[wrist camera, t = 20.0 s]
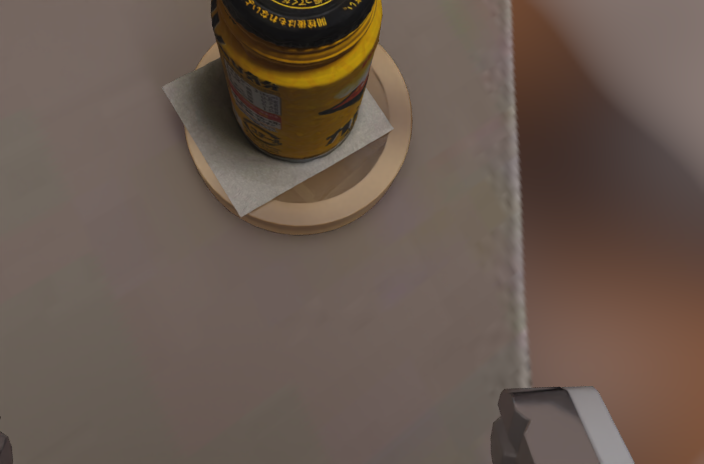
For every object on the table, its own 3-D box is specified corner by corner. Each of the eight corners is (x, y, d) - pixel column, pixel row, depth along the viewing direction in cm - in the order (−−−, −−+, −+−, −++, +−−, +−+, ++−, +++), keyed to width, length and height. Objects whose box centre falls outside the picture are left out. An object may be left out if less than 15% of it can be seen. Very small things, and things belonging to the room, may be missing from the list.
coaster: (404, 239, 33) (411, 231, 31) (182, 230, 32) (174, 221, 30) (406, 37, 35) (413, 17, 33) (198, 24, 34) (191, 2, 32)
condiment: (393, 130, 32) (451, -3, 20) (241, 218, 30) (207, 131, 19) (314, 9, 33) (326, -186, 21) (162, 89, 31) (83, -71, 20)
